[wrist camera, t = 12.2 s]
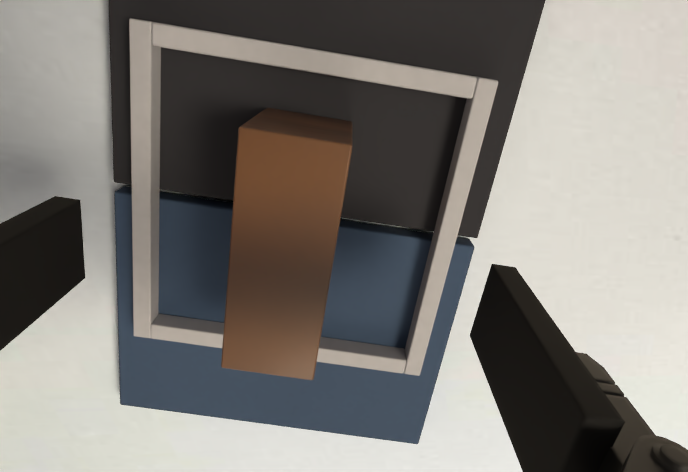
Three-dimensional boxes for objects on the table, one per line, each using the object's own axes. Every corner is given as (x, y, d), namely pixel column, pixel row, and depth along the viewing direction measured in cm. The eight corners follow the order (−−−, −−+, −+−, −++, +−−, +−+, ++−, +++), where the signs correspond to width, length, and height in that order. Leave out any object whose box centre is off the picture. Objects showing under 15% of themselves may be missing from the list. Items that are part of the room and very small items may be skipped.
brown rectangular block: (266, 107, 19) (238, 126, 14) (352, 121, 19) (352, 145, 14) (248, 300, 22) (220, 368, 17) (321, 311, 22) (313, 381, 18)
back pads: (117, -145, 16) (87, -169, 15) (554, -64, 17) (579, -78, 15) (128, 392, 25) (110, 419, 24) (416, 430, 26) (420, 460, 24)
